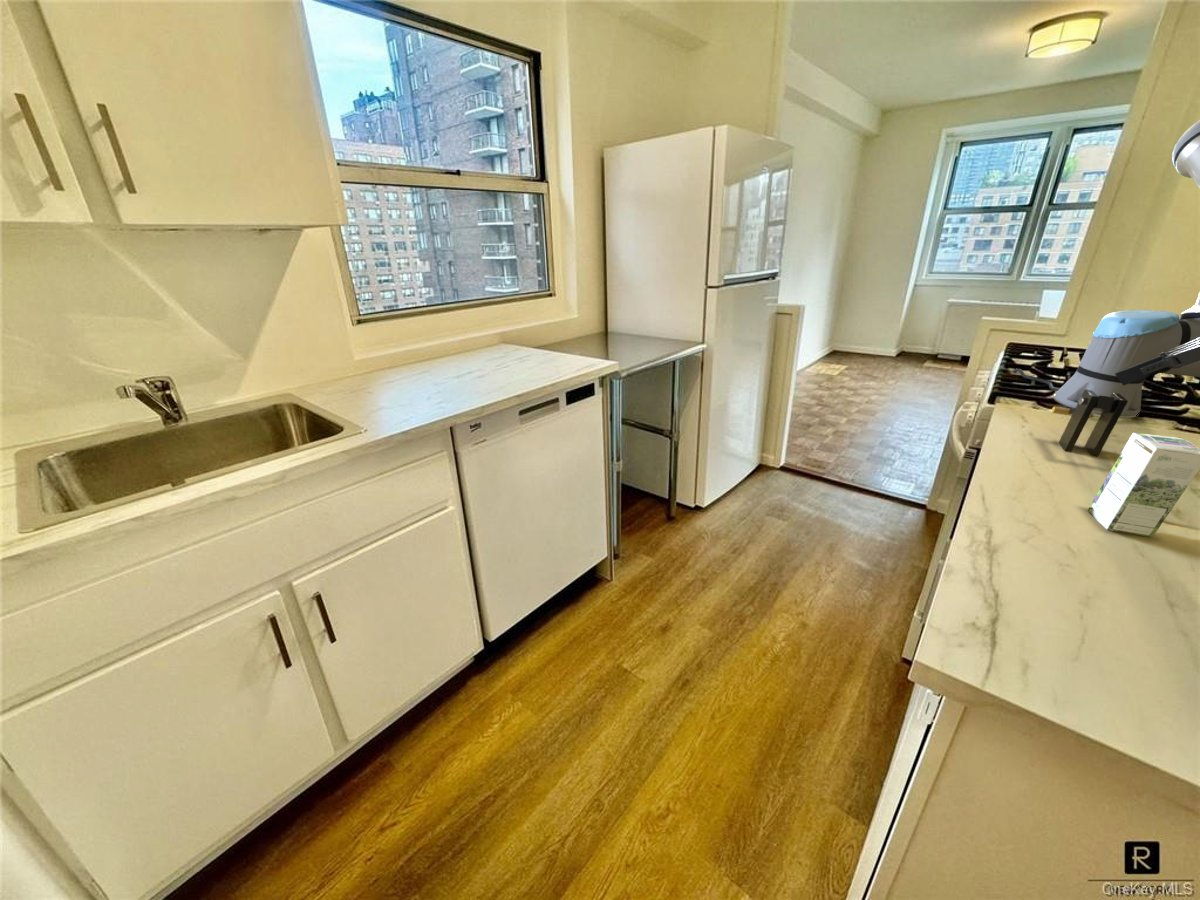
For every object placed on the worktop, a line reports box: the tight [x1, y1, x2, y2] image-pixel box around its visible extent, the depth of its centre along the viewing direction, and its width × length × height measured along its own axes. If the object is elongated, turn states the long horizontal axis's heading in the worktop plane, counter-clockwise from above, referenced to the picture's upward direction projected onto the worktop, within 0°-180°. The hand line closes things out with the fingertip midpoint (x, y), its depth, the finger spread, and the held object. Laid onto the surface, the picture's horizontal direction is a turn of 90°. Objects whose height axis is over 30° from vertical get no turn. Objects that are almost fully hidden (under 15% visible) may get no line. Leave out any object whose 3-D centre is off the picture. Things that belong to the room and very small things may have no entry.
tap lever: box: [1050, 395, 1114, 419], centre depth 96 cm, size 14×6×2 cm, turn 153°
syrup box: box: [1087, 432, 1200, 538], centre depth 72 cm, size 6×6×14 cm
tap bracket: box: [1058, 389, 1128, 458], centre depth 93 cm, size 10×9×13 cm
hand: (1119, 378), depth 95 cm, fingers closed
